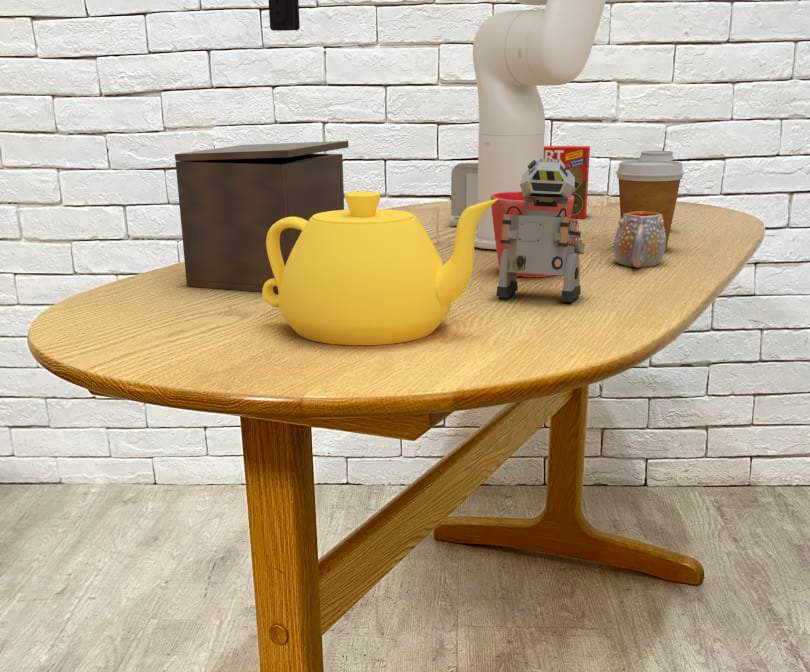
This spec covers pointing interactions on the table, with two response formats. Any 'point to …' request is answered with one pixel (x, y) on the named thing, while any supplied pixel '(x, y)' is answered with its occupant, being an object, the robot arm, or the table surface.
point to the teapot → (367, 273)
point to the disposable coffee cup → (650, 188)
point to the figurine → (542, 232)
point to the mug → (640, 239)
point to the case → (249, 213)
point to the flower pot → (516, 200)
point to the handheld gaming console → (463, 189)
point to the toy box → (574, 172)
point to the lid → (262, 151)
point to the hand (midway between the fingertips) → (285, 29)
